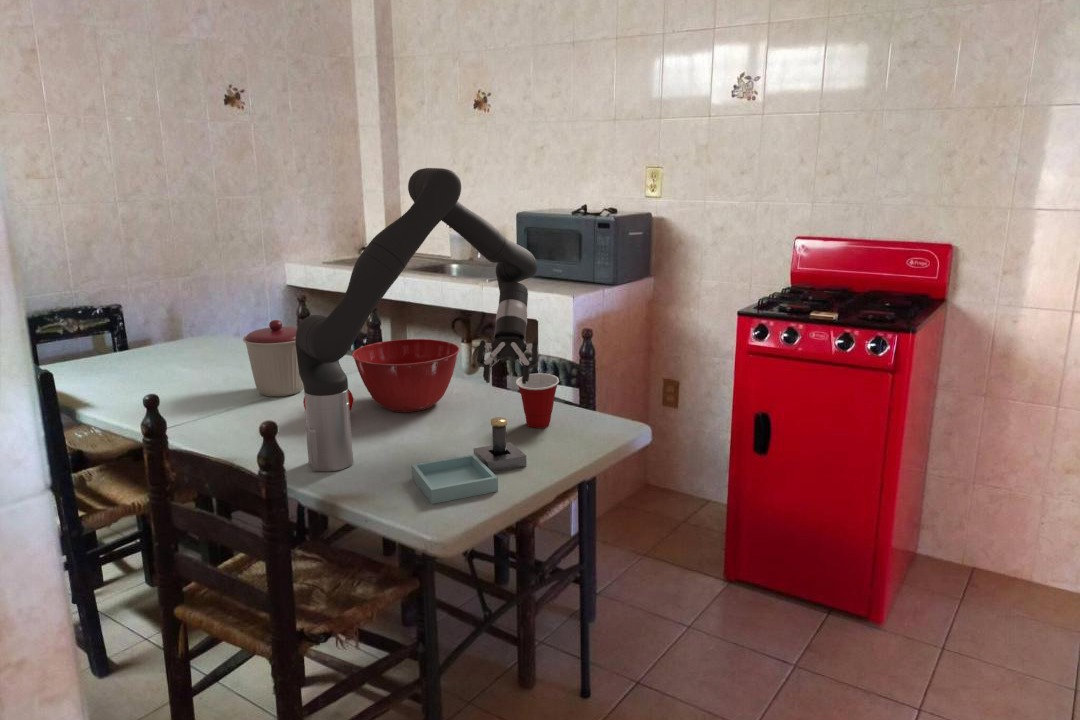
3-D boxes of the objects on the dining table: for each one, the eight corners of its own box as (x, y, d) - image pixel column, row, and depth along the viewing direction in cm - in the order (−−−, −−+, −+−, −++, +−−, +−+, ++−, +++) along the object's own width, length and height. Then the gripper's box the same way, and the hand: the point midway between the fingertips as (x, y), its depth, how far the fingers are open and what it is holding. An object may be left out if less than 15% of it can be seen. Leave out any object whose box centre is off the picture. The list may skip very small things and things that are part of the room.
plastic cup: (508, 427, 197) (507, 381, 194) (529, 415, 206) (529, 371, 203) (546, 434, 192) (546, 387, 189) (566, 421, 201) (566, 376, 198)
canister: (313, 380, 238) (307, 312, 232) (315, 397, 221) (309, 324, 216) (249, 385, 232) (242, 316, 227) (247, 404, 216) (239, 329, 210)
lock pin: (495, 466, 173) (494, 423, 170) (489, 461, 176) (488, 418, 173) (510, 464, 174) (509, 421, 171) (504, 458, 177) (503, 416, 175)
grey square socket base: (488, 473, 169) (487, 462, 169) (473, 458, 177) (473, 448, 176) (526, 466, 173) (526, 455, 172) (510, 452, 181) (510, 442, 180)
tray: (431, 503, 155) (431, 489, 154) (412, 477, 167) (411, 464, 166) (498, 491, 160) (497, 477, 159) (474, 466, 173) (474, 454, 172)
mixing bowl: (334, 405, 214) (330, 350, 210) (417, 383, 235) (415, 332, 230) (398, 429, 196) (395, 370, 192) (482, 403, 216) (481, 348, 212)
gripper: (480, 314, 188) (473, 373, 180) (539, 314, 186) (535, 374, 178) (484, 330, 194) (477, 388, 186) (541, 331, 193) (537, 390, 185)
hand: (505, 381), depth 182 cm, fingers open, 8 cm apart
